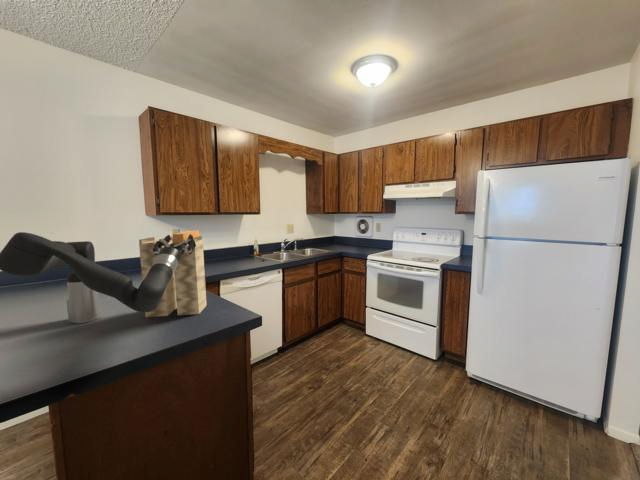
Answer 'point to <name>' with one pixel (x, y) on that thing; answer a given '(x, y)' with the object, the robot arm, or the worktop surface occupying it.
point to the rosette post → (147, 259)
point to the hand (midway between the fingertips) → (180, 236)
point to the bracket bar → (184, 236)
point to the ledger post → (191, 281)
